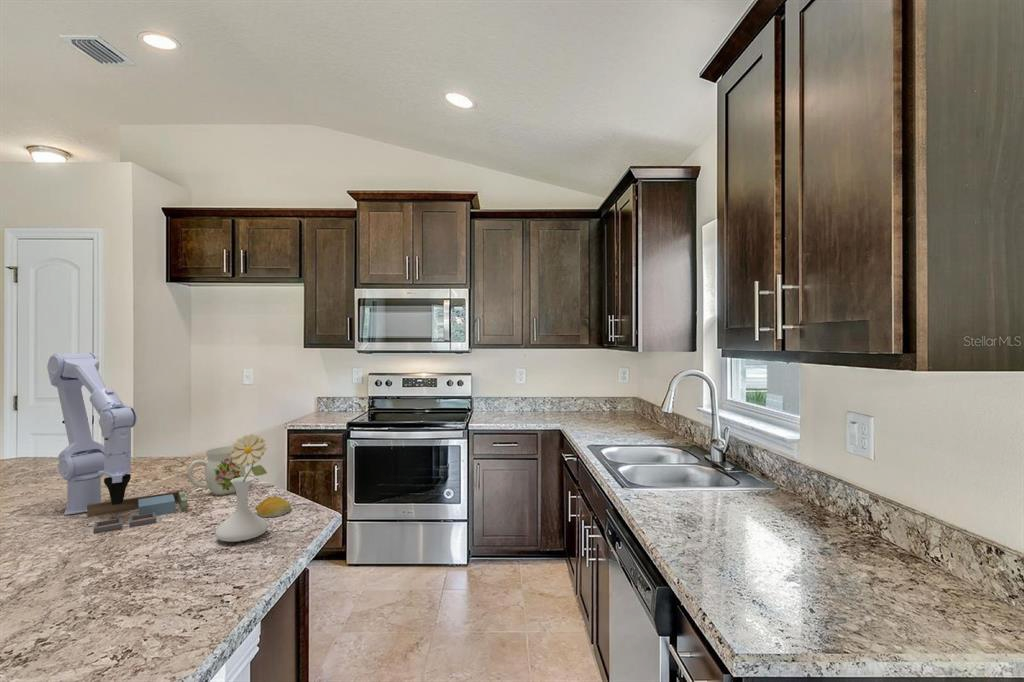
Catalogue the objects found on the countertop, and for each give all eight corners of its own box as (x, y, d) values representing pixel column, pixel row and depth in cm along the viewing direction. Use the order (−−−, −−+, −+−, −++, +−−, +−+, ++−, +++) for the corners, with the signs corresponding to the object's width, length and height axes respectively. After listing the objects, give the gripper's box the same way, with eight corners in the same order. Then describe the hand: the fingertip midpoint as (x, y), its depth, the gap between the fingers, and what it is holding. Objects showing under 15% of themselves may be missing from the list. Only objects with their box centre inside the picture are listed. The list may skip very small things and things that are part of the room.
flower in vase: (203, 542, 118) (203, 435, 118) (244, 526, 129) (244, 427, 129) (245, 550, 114) (245, 439, 114) (284, 532, 125) (284, 430, 125)
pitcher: (184, 494, 156) (184, 449, 156) (248, 483, 168) (248, 441, 168) (191, 502, 148) (191, 455, 148) (257, 490, 160) (258, 447, 160)
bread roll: (263, 521, 133) (263, 505, 133) (253, 512, 140) (253, 497, 140) (295, 513, 139) (295, 499, 139) (285, 505, 146) (284, 491, 146)
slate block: (138, 511, 141) (138, 499, 141) (172, 506, 146) (172, 494, 146) (138, 519, 135) (138, 506, 135) (174, 513, 139) (175, 501, 139)
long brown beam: (87, 515, 137) (87, 504, 137) (183, 500, 150) (183, 490, 150) (84, 528, 127) (84, 516, 127) (186, 510, 141) (186, 500, 141)
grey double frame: (94, 527, 128) (94, 522, 128) (155, 516, 136) (155, 512, 136) (93, 533, 124) (93, 528, 124) (156, 522, 131) (156, 518, 131)
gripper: (99, 450, 139) (99, 499, 139) (97, 460, 128) (96, 514, 128) (131, 446, 143) (131, 494, 143) (132, 456, 132) (131, 508, 132)
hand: (117, 503), depth 136 cm, fingers closed
